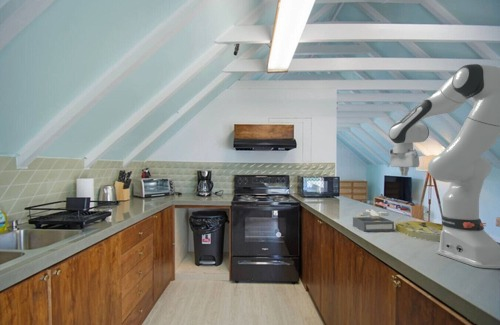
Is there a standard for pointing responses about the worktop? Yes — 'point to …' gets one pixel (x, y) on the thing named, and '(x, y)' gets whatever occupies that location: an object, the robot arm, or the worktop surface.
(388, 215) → the switch
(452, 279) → the worktop surface
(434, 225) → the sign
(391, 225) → the box
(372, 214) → the switch
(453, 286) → the worktop surface
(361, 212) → the switch
